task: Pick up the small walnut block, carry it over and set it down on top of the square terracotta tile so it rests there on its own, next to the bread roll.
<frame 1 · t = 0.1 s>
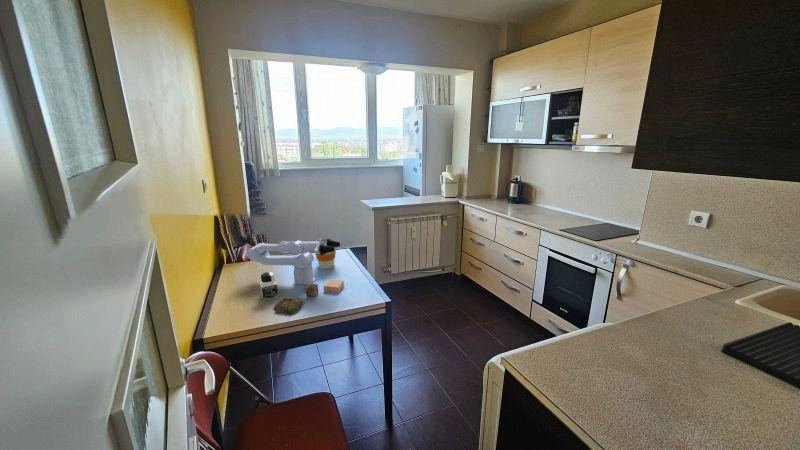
hand: (337, 246, 172), 22 cm above the table, tool horizontal, fingers open, 7 cm apart
terracotta tile: (334, 288, 173), on the table
reusable coffee cup: (326, 265, 203), on the table
walnut block: (312, 295, 166), on the table
bread roll: (288, 308, 155), on the table
medicine bottle: (269, 295, 166), on the table
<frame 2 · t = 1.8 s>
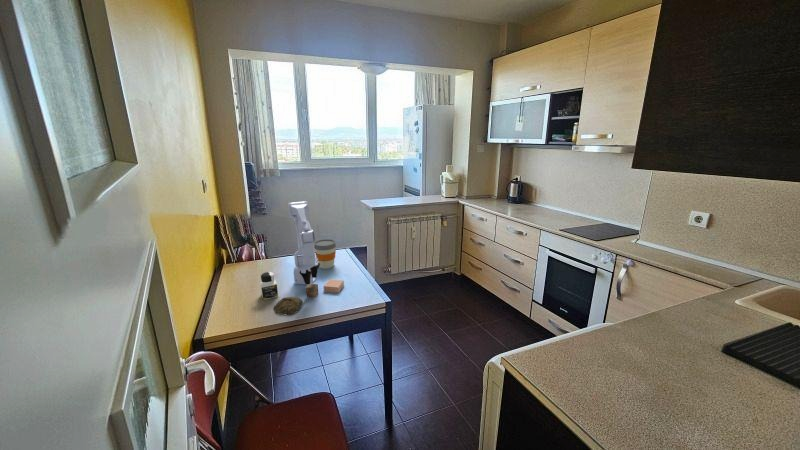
hand: (311, 280, 164), 8 cm above the table, tool pointing down, fingers open, 7 cm apart
nothing on the table moved.
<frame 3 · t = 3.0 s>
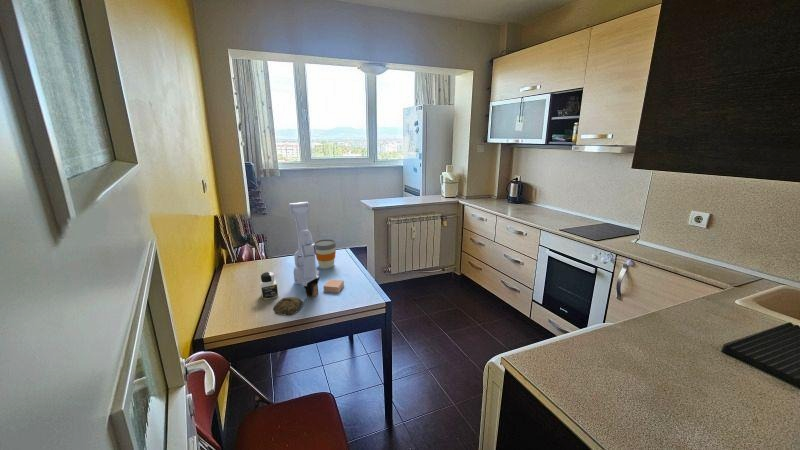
hand: (312, 292, 166), 1 cm above the table, tool pointing down, fingers closed on walnut block, 4 cm apart
walnut block: (312, 295, 166), on the table, touching gripper
everything else where it was.
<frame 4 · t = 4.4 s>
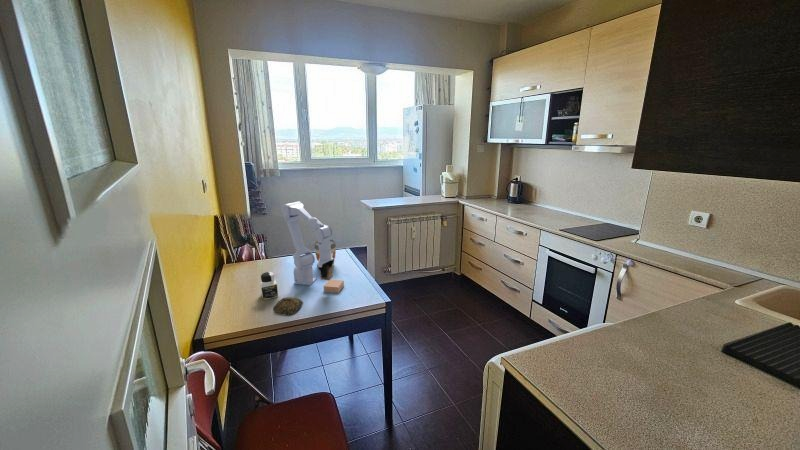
hand: (326, 274, 169), 9 cm above the table, tool pointing down, fingers closed on walnut block, 5 cm apart
walnut block: (326, 278, 169), point 7 cm above the table, touching gripper
everything else where it was.
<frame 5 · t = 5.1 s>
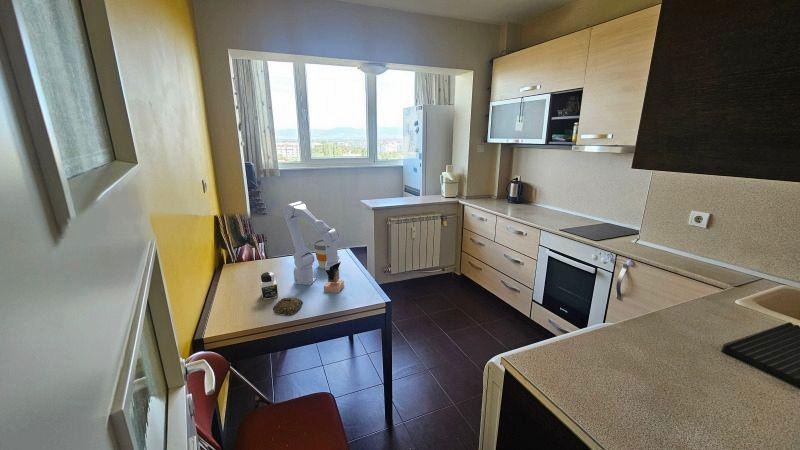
hand: (333, 277, 172), 6 cm above the table, tool pointing down, fingers closed on walnut block, 5 cm apart
walnut block: (333, 280, 172), point 5 cm above the table, touching gripper
everything else where it was.
when the fingers open (5 cm above the table, at t = 5.7 s): walnut block stays where it is, resting on terracotta tile.
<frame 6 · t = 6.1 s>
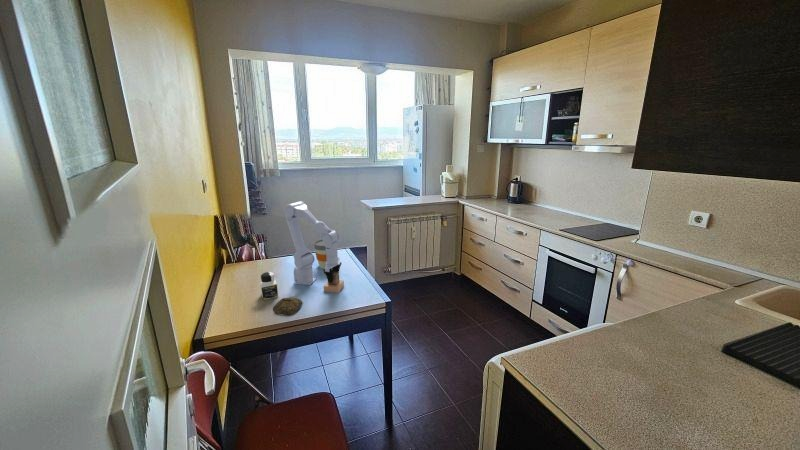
hand: (333, 279, 172), 5 cm above the table, tool pointing down, fingers open, 7 cm apart
walnut block: (333, 283, 173), point 3 cm above the table, touching terracotta tile
everything else where it was.
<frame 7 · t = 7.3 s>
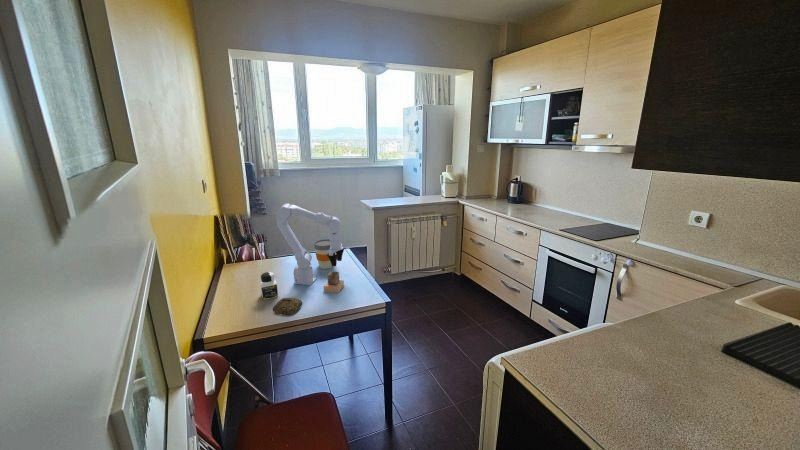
hand: (336, 263, 180), 10 cm above the table, tool pointing down, fingers open, 7 cm apart
nothing on the table moved.
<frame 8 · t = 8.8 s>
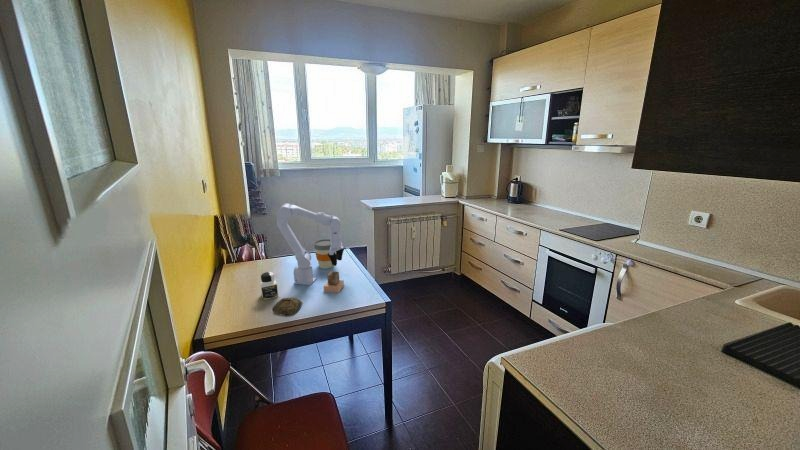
hand: (337, 262, 181), 10 cm above the table, tool pointing down, fingers open, 7 cm apart
nothing on the table moved.
at the end: walnut block 0.1 cm off-centre on the terracotta tile, point 3.0 cm above the terracotta tile's base; walnut block tilted 0°; the gripper is holding nothing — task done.
